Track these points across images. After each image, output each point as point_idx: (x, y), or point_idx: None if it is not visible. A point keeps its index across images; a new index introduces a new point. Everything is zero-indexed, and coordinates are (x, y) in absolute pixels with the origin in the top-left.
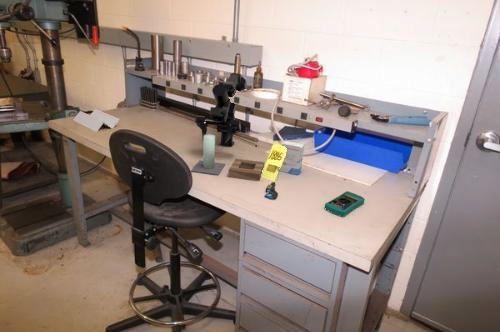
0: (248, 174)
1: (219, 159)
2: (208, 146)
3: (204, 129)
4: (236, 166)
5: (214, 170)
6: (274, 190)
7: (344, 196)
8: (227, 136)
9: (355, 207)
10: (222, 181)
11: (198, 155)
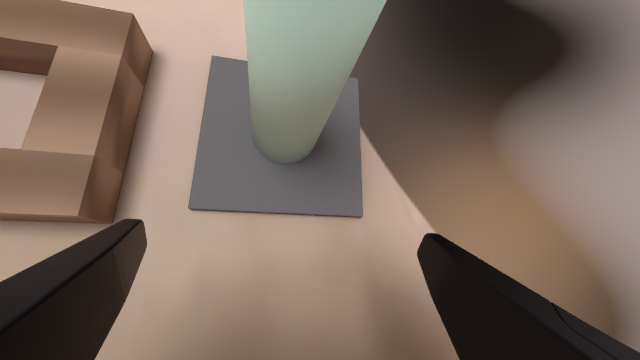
0: None
1: (246, 294)
2: None
3: (577, 346)
4: (72, 63)
5: (242, 96)
6: None
7: None
8: (19, 283)
9: None
10: (181, 6)
11: (399, 315)
